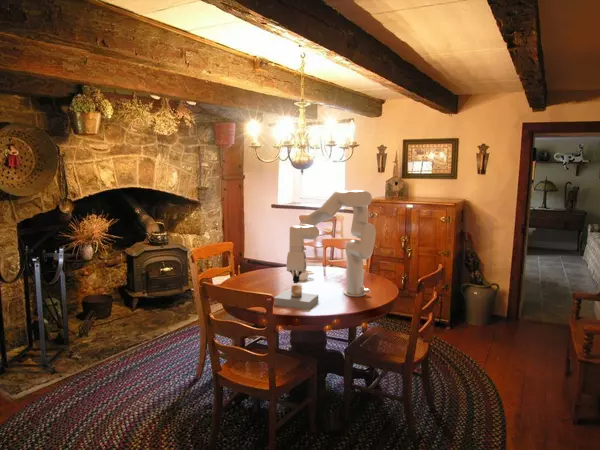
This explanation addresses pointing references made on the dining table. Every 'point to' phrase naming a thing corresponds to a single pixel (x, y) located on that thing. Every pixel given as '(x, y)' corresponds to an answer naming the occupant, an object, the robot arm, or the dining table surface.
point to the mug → (305, 274)
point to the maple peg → (296, 290)
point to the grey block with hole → (296, 300)
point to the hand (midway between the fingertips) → (296, 282)
